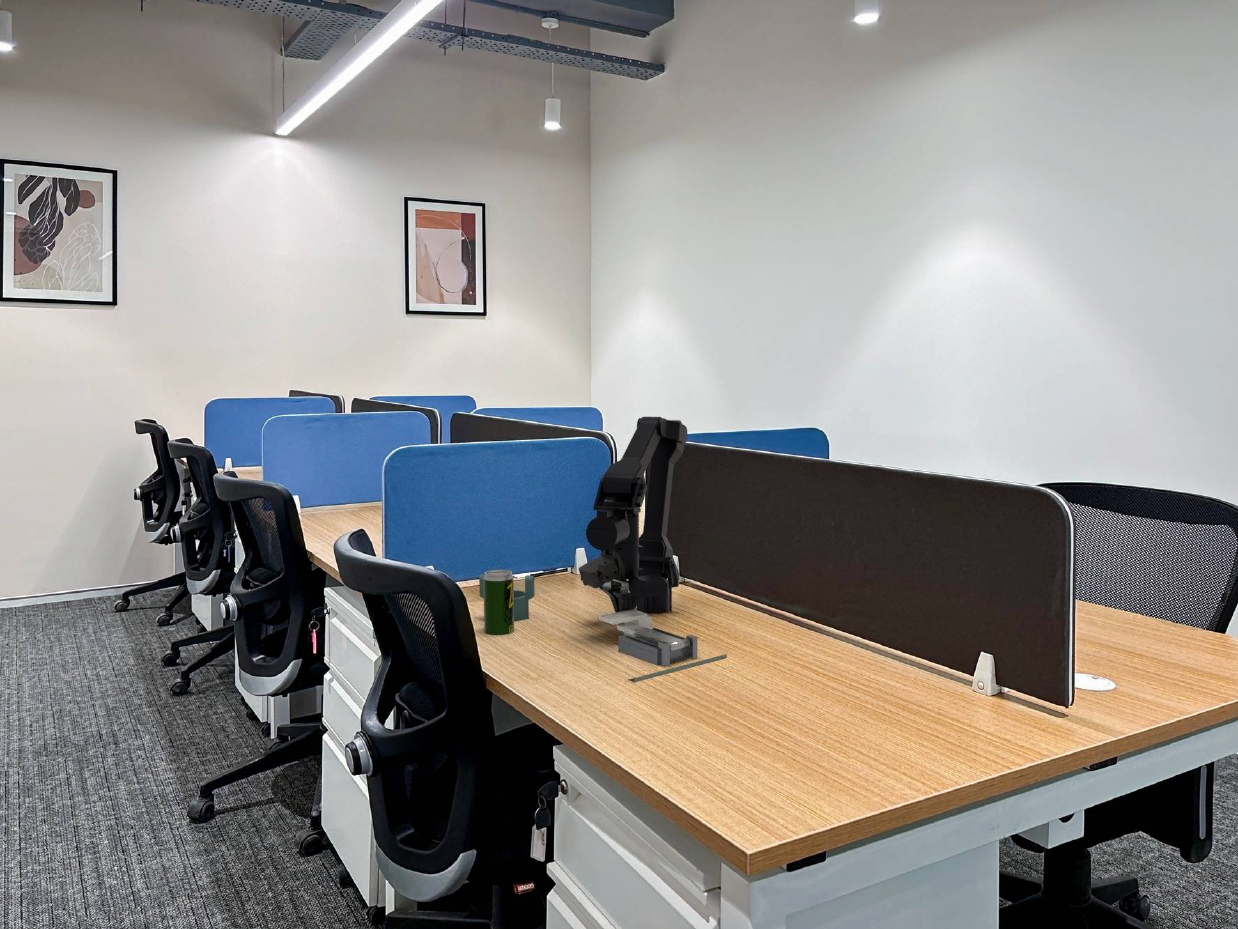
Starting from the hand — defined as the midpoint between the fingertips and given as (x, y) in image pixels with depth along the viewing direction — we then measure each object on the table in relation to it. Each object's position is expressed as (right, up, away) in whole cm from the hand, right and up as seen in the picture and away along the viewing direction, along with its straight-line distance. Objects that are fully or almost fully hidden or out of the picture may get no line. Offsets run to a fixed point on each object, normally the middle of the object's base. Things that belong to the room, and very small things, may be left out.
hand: (623, 626), depth 168 cm
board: (+2, -3, -8) cm, 9 cm away
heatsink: (+6, -2, -13) cm, 15 cm away
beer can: (-23, -2, +1) cm, 23 cm away
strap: (+5, 0, -12) cm, 13 cm away
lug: (0, -2, -5) cm, 5 cm away
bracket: (-22, -1, +14) cm, 26 cm away
